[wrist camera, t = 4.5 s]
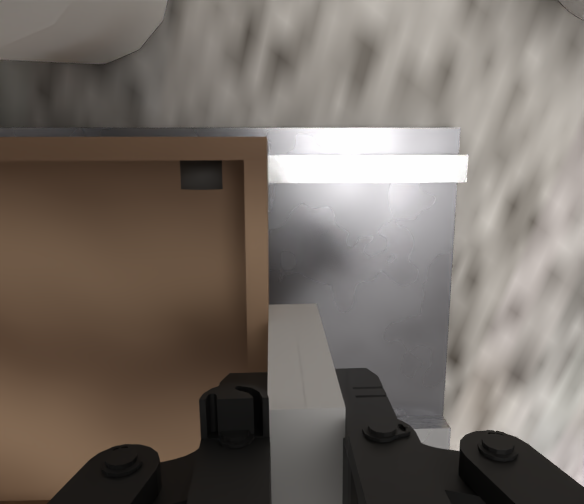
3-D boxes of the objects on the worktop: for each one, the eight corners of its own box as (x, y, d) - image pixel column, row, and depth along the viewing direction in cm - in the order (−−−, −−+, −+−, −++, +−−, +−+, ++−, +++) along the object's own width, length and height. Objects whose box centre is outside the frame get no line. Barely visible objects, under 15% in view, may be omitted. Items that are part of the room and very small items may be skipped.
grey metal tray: (-144, 128, 20) (-184, 127, 18) (453, 128, 21) (470, 126, 19) (-91, 460, 23) (-121, 486, 21) (434, 447, 24) (447, 472, 22)
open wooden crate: (-116, 138, 18) (-264, 136, 13) (267, 138, 19) (266, 136, 14) (-64, 480, 21) (-171, 588, 16) (270, 472, 22) (271, 573, 16)
